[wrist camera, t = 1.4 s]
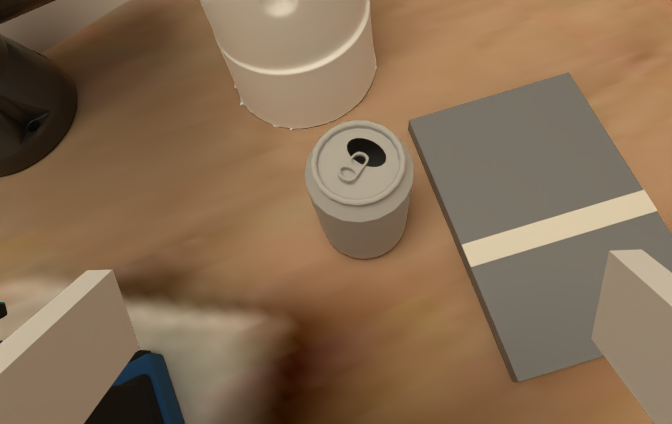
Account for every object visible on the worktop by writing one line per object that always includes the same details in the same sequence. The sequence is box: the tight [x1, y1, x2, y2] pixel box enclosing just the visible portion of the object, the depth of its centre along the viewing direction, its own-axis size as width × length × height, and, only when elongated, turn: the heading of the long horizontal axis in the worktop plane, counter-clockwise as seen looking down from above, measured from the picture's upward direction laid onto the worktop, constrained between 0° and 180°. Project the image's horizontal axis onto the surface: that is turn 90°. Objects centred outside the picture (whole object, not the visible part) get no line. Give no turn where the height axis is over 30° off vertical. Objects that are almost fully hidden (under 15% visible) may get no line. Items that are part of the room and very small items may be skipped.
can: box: [305, 120, 414, 259], centre depth 32 cm, size 8×8×12 cm
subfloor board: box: [408, 73, 672, 382], centre depth 35 cm, size 24×16×2 cm, turn 16°
